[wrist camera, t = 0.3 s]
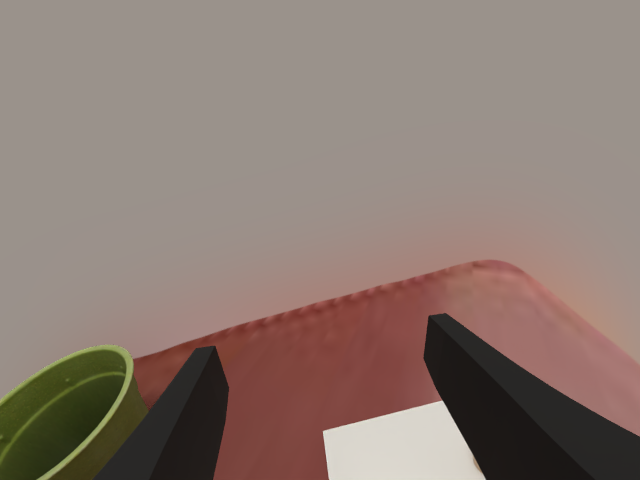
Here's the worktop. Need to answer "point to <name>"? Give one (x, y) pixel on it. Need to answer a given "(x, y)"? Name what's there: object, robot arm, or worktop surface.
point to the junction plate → (401, 448)
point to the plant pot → (70, 416)
